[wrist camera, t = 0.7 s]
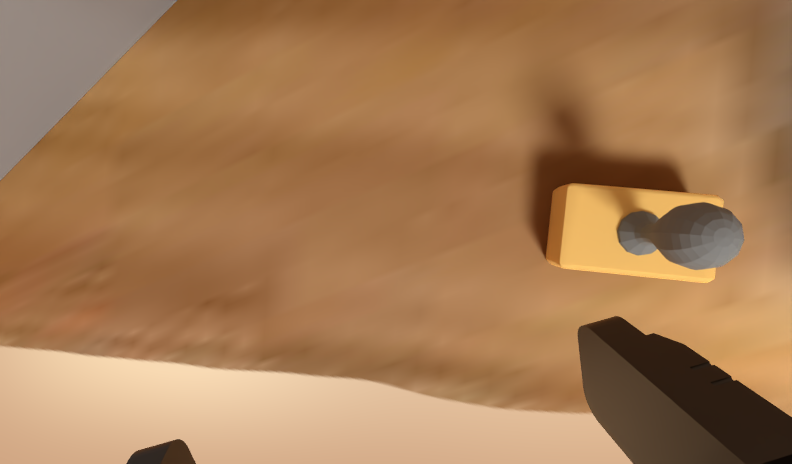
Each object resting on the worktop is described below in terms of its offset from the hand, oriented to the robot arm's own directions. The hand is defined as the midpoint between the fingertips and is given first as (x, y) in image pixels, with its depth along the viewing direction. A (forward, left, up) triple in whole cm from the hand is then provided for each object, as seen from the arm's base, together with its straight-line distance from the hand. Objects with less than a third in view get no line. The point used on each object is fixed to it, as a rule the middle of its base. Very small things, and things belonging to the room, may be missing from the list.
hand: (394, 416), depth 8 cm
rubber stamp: (-3, +14, -25) cm, 29 cm away
